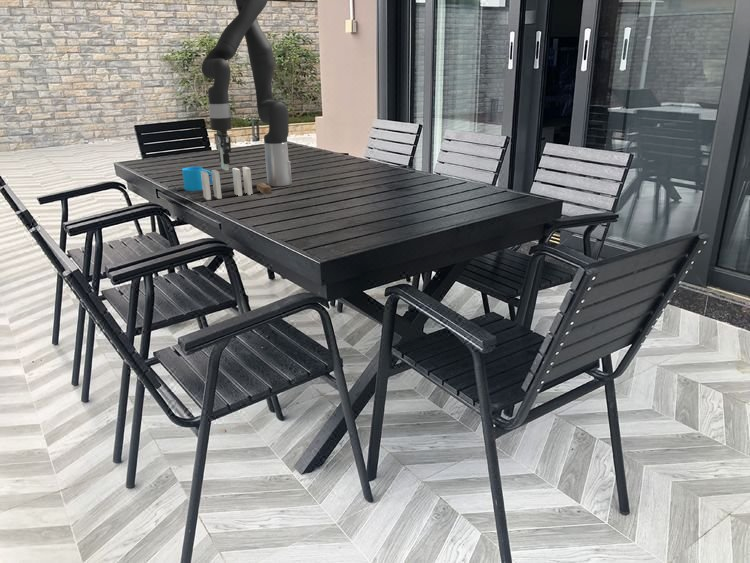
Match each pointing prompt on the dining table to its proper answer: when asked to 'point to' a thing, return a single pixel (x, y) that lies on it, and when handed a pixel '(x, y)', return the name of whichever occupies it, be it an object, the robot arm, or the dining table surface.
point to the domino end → (247, 180)
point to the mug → (193, 178)
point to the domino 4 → (237, 181)
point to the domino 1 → (206, 185)
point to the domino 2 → (216, 184)
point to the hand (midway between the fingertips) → (224, 162)
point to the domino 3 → (223, 166)
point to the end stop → (264, 188)
